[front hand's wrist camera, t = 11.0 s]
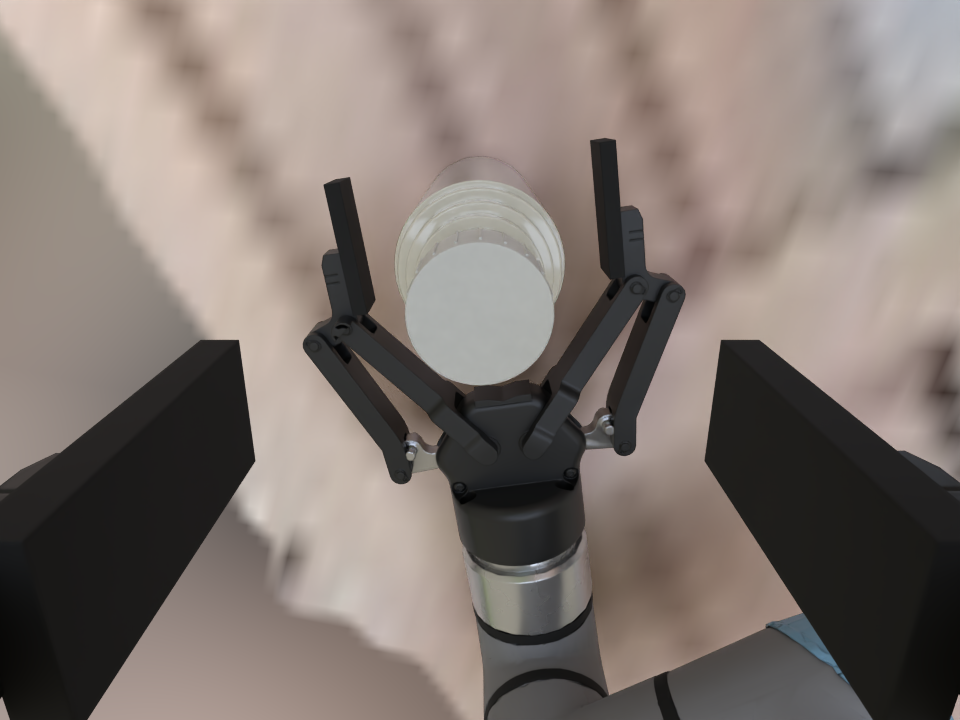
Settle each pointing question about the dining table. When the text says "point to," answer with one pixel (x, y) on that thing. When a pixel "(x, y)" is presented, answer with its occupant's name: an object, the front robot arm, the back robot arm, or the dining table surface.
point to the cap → (479, 308)
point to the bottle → (479, 217)
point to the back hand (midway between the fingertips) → (468, 159)
